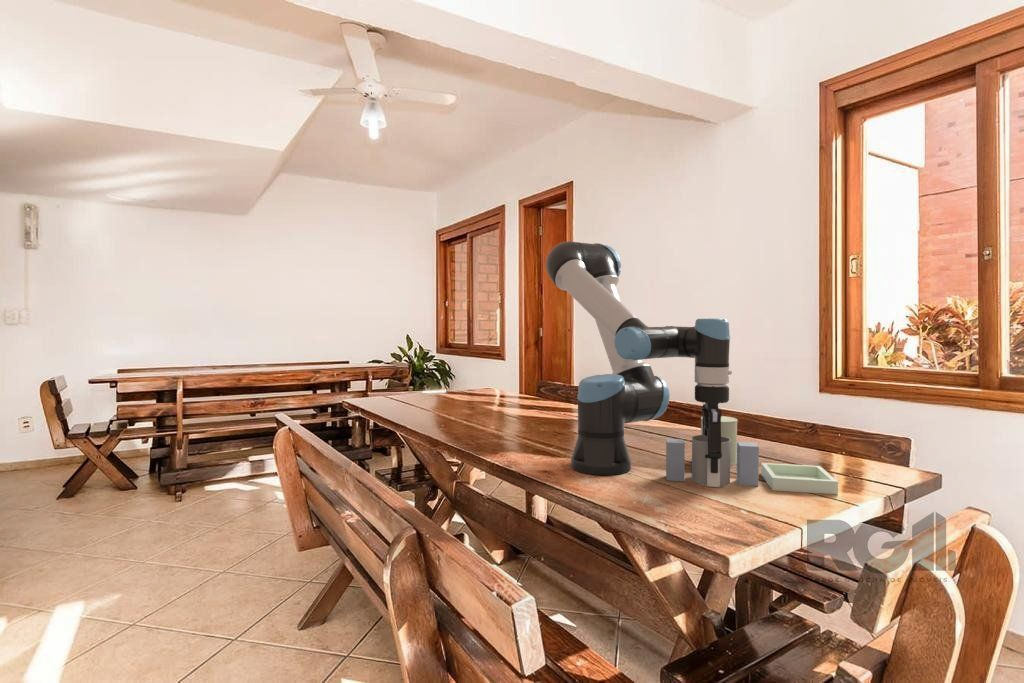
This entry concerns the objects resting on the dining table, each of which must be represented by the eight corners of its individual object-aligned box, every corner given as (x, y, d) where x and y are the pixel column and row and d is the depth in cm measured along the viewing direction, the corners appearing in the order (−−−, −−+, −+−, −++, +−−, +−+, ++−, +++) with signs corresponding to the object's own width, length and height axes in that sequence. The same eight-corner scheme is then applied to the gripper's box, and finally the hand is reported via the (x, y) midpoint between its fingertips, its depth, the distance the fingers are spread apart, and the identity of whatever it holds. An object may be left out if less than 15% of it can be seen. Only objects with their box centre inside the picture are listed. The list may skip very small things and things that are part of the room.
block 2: (739, 484, 126) (739, 445, 126) (736, 480, 130) (737, 442, 130) (758, 486, 125) (758, 446, 125) (754, 481, 129) (755, 442, 129)
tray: (772, 490, 122) (772, 477, 122) (760, 474, 135) (761, 462, 135) (837, 494, 119) (838, 481, 119) (819, 477, 132) (819, 465, 132)
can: (731, 457, 151) (731, 413, 151) (742, 466, 142) (742, 420, 142) (696, 456, 152) (697, 413, 152) (705, 465, 143) (705, 419, 142)
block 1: (666, 480, 130) (666, 442, 130) (666, 475, 134) (666, 438, 134) (684, 481, 129) (684, 443, 129) (683, 476, 133) (683, 439, 133)
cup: (731, 478, 132) (731, 436, 131) (728, 488, 124) (729, 443, 124) (693, 474, 135) (694, 433, 135) (689, 483, 128) (689, 440, 127)
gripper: (736, 390, 117) (735, 495, 118) (722, 379, 138) (721, 468, 139) (699, 390, 119) (698, 493, 120) (691, 379, 140) (690, 466, 141)
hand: (710, 480), depth 130 cm, fingers open, 9 cm apart
